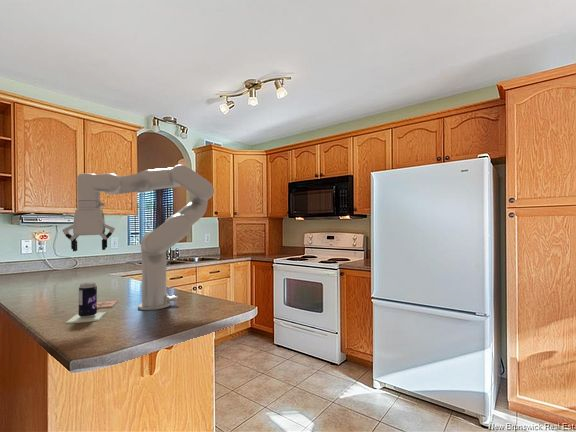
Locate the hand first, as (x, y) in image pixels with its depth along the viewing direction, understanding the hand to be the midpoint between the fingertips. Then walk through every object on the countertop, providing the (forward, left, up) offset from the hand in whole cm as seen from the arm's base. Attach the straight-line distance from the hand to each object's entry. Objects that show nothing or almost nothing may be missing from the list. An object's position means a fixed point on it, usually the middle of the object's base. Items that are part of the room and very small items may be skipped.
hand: (89, 250), depth 124 cm
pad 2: (0, -15, -25) cm, 29 cm away
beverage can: (-1, +5, -24) cm, 25 cm away
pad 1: (0, +5, -25) cm, 25 cm away
